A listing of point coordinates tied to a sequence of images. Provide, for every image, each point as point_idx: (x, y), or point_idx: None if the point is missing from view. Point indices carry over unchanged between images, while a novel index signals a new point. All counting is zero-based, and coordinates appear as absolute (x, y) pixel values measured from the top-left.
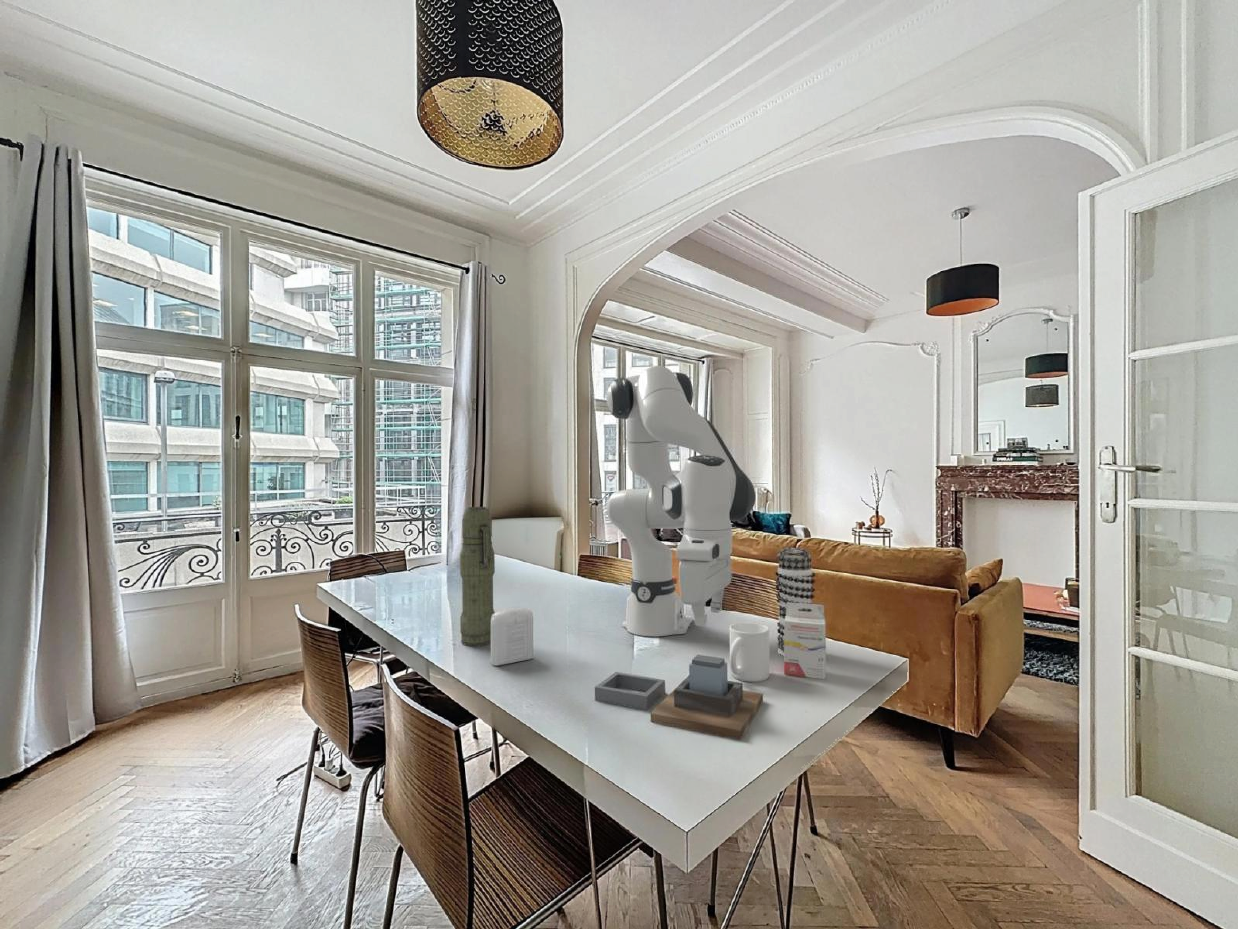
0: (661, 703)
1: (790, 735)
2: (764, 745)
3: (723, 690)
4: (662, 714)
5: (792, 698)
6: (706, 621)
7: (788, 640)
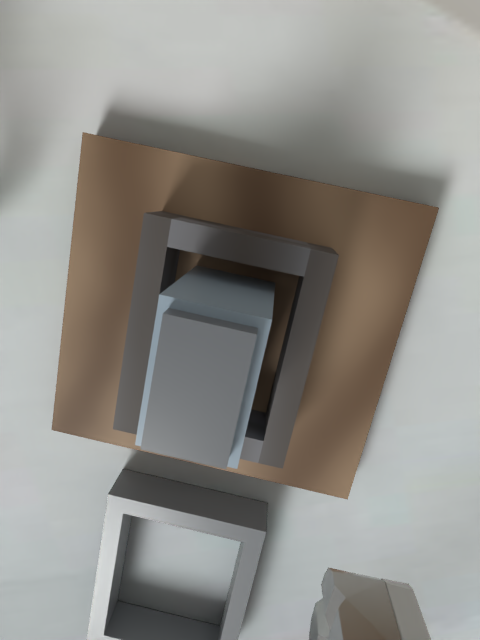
0: (267, 477)
1: (364, 25)
2: (456, 122)
3: (243, 288)
4: (353, 465)
5: (29, 14)
6: (342, 584)
7: None
